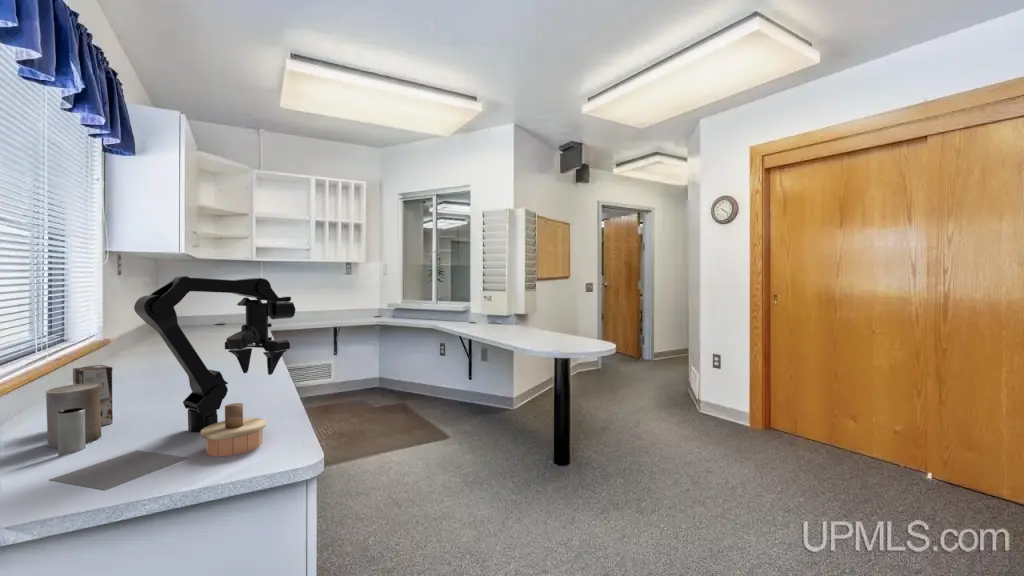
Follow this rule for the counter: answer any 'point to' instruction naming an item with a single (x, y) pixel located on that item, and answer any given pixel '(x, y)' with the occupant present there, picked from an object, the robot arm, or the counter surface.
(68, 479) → the mat
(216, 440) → the bowl
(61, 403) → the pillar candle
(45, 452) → the counter surface
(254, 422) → the lid
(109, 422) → the coffee box
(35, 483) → the counter surface
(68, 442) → the planter
